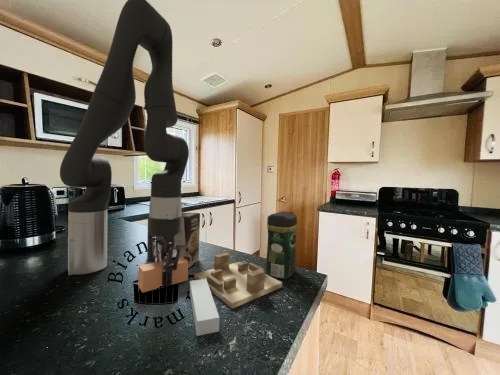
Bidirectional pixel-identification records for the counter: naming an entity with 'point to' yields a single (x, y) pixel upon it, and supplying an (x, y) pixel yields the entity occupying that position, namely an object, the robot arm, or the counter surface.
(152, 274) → the tall peach block
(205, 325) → the light grey bar
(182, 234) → the coffee box
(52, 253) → the counter surface
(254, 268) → the jig
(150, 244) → the bottle
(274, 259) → the coffee jar
